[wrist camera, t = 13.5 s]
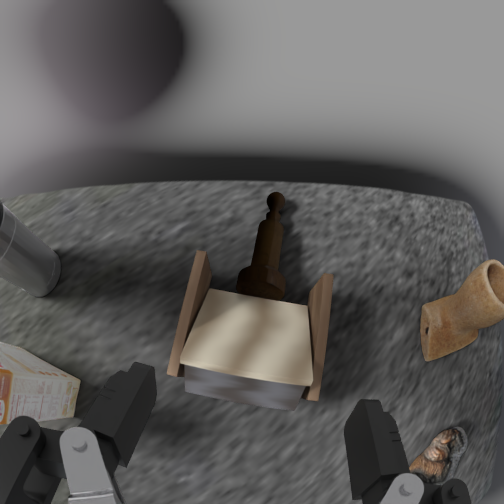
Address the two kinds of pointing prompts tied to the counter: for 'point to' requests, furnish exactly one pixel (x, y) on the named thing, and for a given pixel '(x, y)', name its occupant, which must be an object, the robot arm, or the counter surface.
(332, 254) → the counter surface
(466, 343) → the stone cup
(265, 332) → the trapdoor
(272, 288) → the brown wooden pepper mill
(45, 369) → the coffeecake box
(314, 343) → the brown upright panels
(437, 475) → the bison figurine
